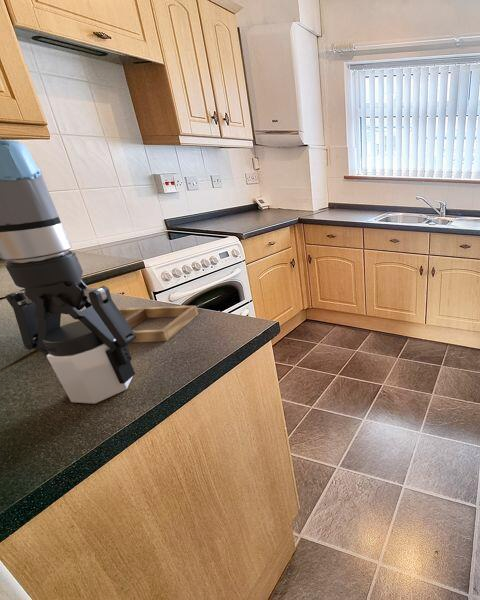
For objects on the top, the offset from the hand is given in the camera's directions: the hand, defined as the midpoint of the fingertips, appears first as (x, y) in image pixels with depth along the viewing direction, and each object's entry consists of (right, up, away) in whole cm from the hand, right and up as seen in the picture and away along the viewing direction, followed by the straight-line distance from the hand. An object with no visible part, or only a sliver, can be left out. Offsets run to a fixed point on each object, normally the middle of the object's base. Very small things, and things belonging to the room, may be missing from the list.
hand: (100, 379), depth 59 cm
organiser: (-12, +7, +22) cm, 26 cm away
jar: (0, -2, +1) cm, 2 cm away
